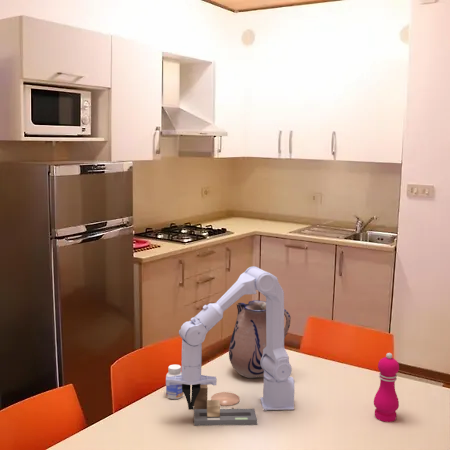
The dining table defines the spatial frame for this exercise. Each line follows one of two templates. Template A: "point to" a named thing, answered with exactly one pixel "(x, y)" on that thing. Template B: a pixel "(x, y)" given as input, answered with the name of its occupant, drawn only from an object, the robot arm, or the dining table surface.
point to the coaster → (226, 398)
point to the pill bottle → (174, 390)
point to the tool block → (201, 398)
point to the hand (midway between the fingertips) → (190, 408)
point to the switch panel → (226, 417)
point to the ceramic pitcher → (250, 338)
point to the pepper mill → (387, 390)
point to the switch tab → (213, 408)
